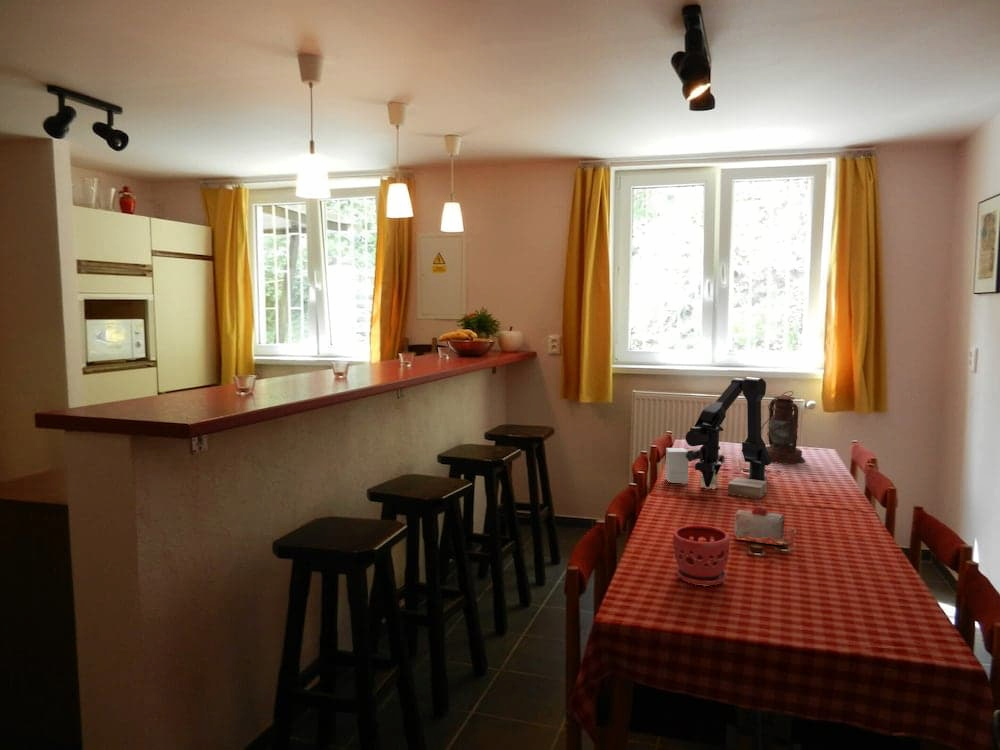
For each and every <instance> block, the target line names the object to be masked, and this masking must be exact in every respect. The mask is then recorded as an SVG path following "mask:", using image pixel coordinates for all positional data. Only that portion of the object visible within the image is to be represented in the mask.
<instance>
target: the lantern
mask: <svg viewBox="0 0 1000 750" xmlns="http://www.w3.org/2000/svg"><path fill="white" fill-rule="evenodd" d="M786 393H791V394H790V395H786ZM793 395H794V392H793V391H791V390H790V391H786V392H783V393H782V394H781V395H777V396H773V399H772V400H771V401H770V402H769V404H768V406H769V407H768V413H769V414H768V415H769V416H768V419H767V420H766V421H765V422H764V424H763V425H762V426H761V431H762V430H763V428H764V426H765V425H766V424H767V425H768V426H767V428H768V432H767V433H766V436H767V437H768V444H769V445H766V452H767V453H768V455H769V456H770V458H771V459H772V460H771V462H777V463H776V464H778V463H787V464H786V465H797V464H796V463H801V464H804V463H805V462H806V460H805V458H804V457H802V456H803V451H802V450H801V449H800V448H797V441H798V428H799V407H798V405H797V404H796V403H795V402H794V400H796V397H792V396H793ZM803 462H804V463H803Z"/></svg>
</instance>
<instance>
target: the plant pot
mask: <svg viewBox="0 0 1000 750" xmlns="http://www.w3.org/2000/svg"><path fill="white" fill-rule="evenodd" d="M672 535H673V537H672V540H673V543H672V545H673V551H674V557H675V561H676V564H677V566H678V568H676V574H677V576H678V577H679V578H680V577H681V578H682V579H684V580H686V581H689V582H693V583H697V584H705V585H706V584H707V585H709V584H710V585H712V584H718V583H721V582H722V583H723V582H724V581H725V580H726V578H727V573H726V571H725V569H726V568H727V565H728V560H729V555H730V535H729V533H728V532H727V531H725V530H724V529H721V528H719V527H715V526H711V525H704V524H703V525H699V524H693V525H685V526H684V525H683V526H681V527H677V528H676V529H674V531H673V534H672ZM691 537H693V539H692V540H691V539H690V538H691ZM702 537H703V538H704V539H705V541H699V539H700V538H702ZM711 537H712V538H713V539H714V540H713V541H711ZM681 578H680V579H681ZM682 579H681V580H682ZM722 583H721V584H722Z"/></svg>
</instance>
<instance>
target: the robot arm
mask: <svg viewBox="0 0 1000 750" xmlns="http://www.w3.org/2000/svg"><path fill="white" fill-rule="evenodd" d="M766 392H767V382H766V381H765V380H764V378H761V377H760V378H758V377H749V376H746V377H745V378H738V377H736V378H733V379H732V380H731V381H730V384H729V385H728V386H727V387H726V388H725V390H724V391H723V392H722V394H721V395H720V396H719V398H717V400H716V401H715V402H714V403H712V404H710V405H707V406H706V407H705V408H704V409H702V411H701V413H700V414H699V417H698V419H697V421H696V423H695V424H694V426H690V428H689V431H687V432H686V435H685V441H686V444H687V445H688V446H690V447H698V446H700V448H698V449H696V450H693V449H690V450H687V451H688V452H687V453H686V458H688V463H691V462H692V461H696V460H698V461H697V462H696V463H695V464H694V470H695V471H699V472H700V473H701V475H702V474H703V477H704V481H705V485H706V487H709V486H710V483H711V481H712V478H713V476H714V474H718V475H719V472H720V469H721V468H722V466H723V464H725V459H726V458H725V456H724V455H723V454H719V453H720V451H719V450H721V445H720V432H723V431H724V428H723V427H722V426H721V425H722V424H723V422H724V421H725V419H726V417H727V415H726V414H727V411H728V410H729V408H730V407H731V406H732V404H733V403H734V402H735V401H736V400H737V398H738V397H739V396H740V395H741V393H742V395H743V396H744V398H745V400H746V405H747V406H746V407H747V409H746V410H747V411H746V415H747V421H746V422H747V423H746V425H747V428H746V429H747V438H746V439H745V441H742V442H741V447H742V448H741V453H742V456H743V460H744V462H745V463H749V472H748V473H749V474H748V475H747V476H746V479H747V478H748V479H754V480H761V481H764V480H765V481H766V480H767V478H768V476H766V466H770V465H771V460H772V459H771V458H770V456H769V455H768V453H767V452H766V446H767V445H766V443H765V441H764V440H763V438H762V430H761V428H762V400H763V399H764V397H765V395H766ZM719 462H720V463H721V464H719Z"/></svg>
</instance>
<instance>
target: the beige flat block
mask: <svg viewBox="0 0 1000 750" xmlns="http://www.w3.org/2000/svg"><path fill="white" fill-rule="evenodd" d="M767 483H768V481H767V480H765V481H761V480H754V479H747V477H746V478H745V477H734V478H733V479H731V480H730V482H728V483H727V495H728V494H735V495H741V496H747V497H746V498H748V497H752V498H751V499H755V498H759V499H758V500H761V499H762V498H763V497H764V496H765V494H766V493H767V487H768V486H767V485H768V484H767ZM741 496H740V497H741ZM762 496H763V497H762ZM761 497H762V498H761ZM760 498H761V499H760Z"/></svg>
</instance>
